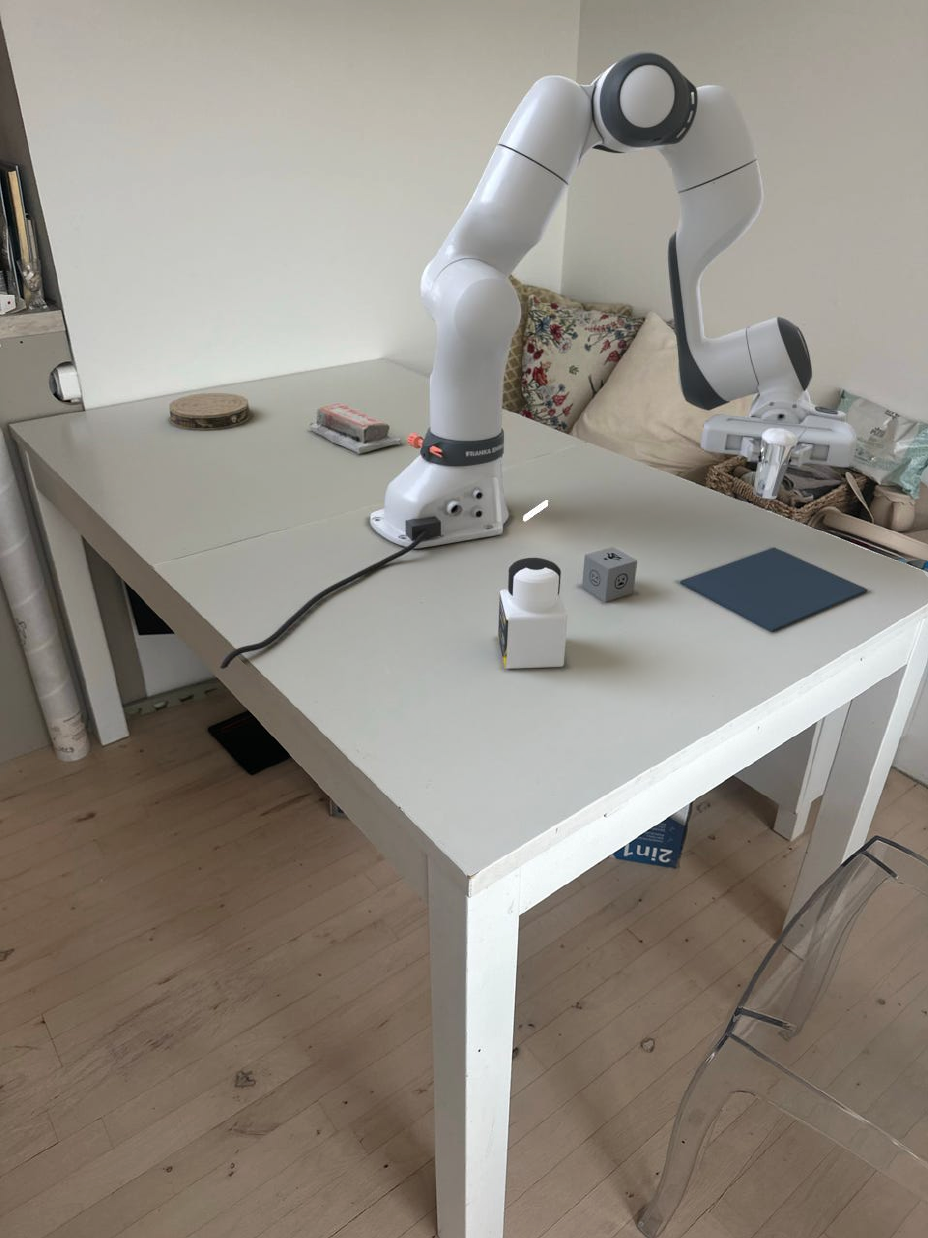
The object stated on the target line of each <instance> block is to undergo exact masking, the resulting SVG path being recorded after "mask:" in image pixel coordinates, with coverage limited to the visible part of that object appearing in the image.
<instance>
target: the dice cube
mask: <svg viewBox="0 0 928 1238" xmlns="http://www.w3.org/2000/svg"><path fill="white" fill-rule="evenodd" d="M637 567H638V559H636V558H634V557H632V556H630V555H628V554H627V553H625V552H624V551H622V550H620V549H619V548H616V547H614V546H609V547H607V548H603V549H600V550H597V551H593V552H589V553H585V554H584V560H583V569H582V571H583V572H582V579H581V580H582V582H581V588H583V589H584V590H585V591H587V592H589V593H590V594H591V595H593V596H594V597H596V598H598V599H600V600H601V601H602V602H604V603H608V602H611V601H614V600H617V599H620V598H623V597H626V596H629V595H633V594H634V592H635V591H634V590H635V585H636V583H635V582H636V575H637Z"/></svg>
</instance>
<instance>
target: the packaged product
mask: <svg viewBox="0 0 928 1238" xmlns="http://www.w3.org/2000/svg"><path fill="white" fill-rule="evenodd" d="M316 415H317V416H316V422H314V423H313V422H311V423H310V424H309V430H310V431H311V432H313V433H315V434H317V435H319V436H321V437H323V438H325V439H326V440H328V441H330V442H331V443H333V444H337V445H340V446H342V447H344V448H346V449H348V450H350V451H352V452H354V453H356V454H358V455H360V454H365V453H367V452H371V451H374V450H377V449H381V448H385V447H388V446H393V445H401V442H402V441H401V440H402V438H401V437H398V436H396V435H393V434H390V433H389V431H390V425H389V424H388V423H386V422H384V421H381V420H379V419H377V418H375V417H373V416H371V415H368V414H366V413H363V412H362V411H360V410H358V409H355V408H353V407H350V406H348V405H346V404H343V403H336V404H331V405H326V406H323V407H319V408H317V409H316Z"/></svg>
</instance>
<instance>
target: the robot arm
mask: <svg viewBox="0 0 928 1238" xmlns="http://www.w3.org/2000/svg"><path fill="white" fill-rule="evenodd" d="M649 148H651V149H655V150H656V151H658V152H659V153H660V154H661V155H662V156H663V158H664V159H665V161H666V163H667V164H668V167H669V169H671V174H672V179H673V183H674V186H675V190H676V194H677V198H678V203H679V219H678V225H677V228H676V230H675V232H674V233H672V235H671V236H670V237H669V240H668V244H667V245H668V246H667V265H668V266H667V267H668V269H667V270H668V280H669V289H670V298H671V307H672V313H673V323H674V329H675V330H674V331H675V338H676V348H677V359H678V362H677V363H678V364H677V377H678V379H677V380H678V385H679V389H680V392H681V394H682V396H683V398H684V401H686V402H687V403H689V404H690V405H691V406H694V407H696V408H699V409H701V410H704V411H708V412H709V411H711V410H714V409H716V408H719V407H722V406H724V405H726V404H729V403H730V402H731V401H735V400H738V399H742V398H745V397H749V396H751V395H754V396H753V399H752V401H751V405H750V409H749V414H748V416H747V415H745V416H744V415H736V414H728V413H727V414H726V413H725V414H724V413H719V414H714V415H712V416H710V418H708V419H706V420H704V422H703V426H702V428H703V429H702V434H701V438H700V439H701V440H700V448H701V449H702V450H704V451H705V452H708V453H717V454H724V455H725V454H726V455H732V456H733V455H735V456H743V457H745V458H746V462H750V463H758V461H759V456H760V446H761V439H762V434H763V433H764V432H765V431H766V430H768V429H771V428H782V429H785V430H787V431H790V432H792V433H793V434H794V435H795V436H796V437H797V439H798V438H799V437H800V435H801V434H802V433H803V431H804V430H805V429H806V428H807V427H808V428H807V430H806V431H805V432H804V434H803V435H802V436H801V437H800V439H799V440H798V442H797V445H796V447H795V450H794V453H793V454H792V456H791V460H790V463H789V465H788V467H792V468H800V469H801V468H802V465H803V464H810V465H812V464H813V465H820V466H827V467H828V466H829V467H837V468H838V467H839V468H849V467H851V466H852V465H853V463H854V459H855V455H856V452H857V445H858V439H857V435H856V433H855V430H854V428H853V426H852V425H851V424H849V423H848V422H847V414H846V413H845V412H843V411H841V410H836V409H833V408H828V407H823V406H819V405H817V404H814V403H812V400H811V397H810V393H809V390H808V388H809V385H810V383H811V381H812V378H813V369H812V360H811V355H810V351H809V348H808V344H807V342H806V339H805V337H804V334H803V332H802V330H801V329H800V328H799V326H797V325H796V324H794V322H791V321H790V320H788V319H786V318H784V317H781V316H777V317H774V318H769V319H767V320H763V321H761V322H758V323H755V324H752V325H749V326H747V327H745V328H742V329H738V330H736V331H733V332H730V333H727V334H725V335H721V336H719V337H715V338H708V337H706V335H705V326H704V320H703V318H704V317H703V309H702V301H701V300H702V299H701V289H700V286H701V285H700V284H701V279H702V277H703V274H704V273H705V271H706V270H707V268H708V267H709V266H710V265H711V264H712V263H713V262H714V261H715V260H716V259H717V258H718V257H720V256H721V255H722V254H723V253H724V252H725V251H726V250H728V249H729V248H730V247H732V246H733V244H735V243H736V242H737V241H739V240H740V238H742V236H744V234H746V232H747V231H748V230H749V229H750V228H751V227H752V225H753V224H754V222H755V221H756V219H757V218H758V216H759V214H760V211H761V209H762V206H763V202H764V189H763V179H762V174H761V170H760V165H759V161H758V159H757V158H758V156H757V154H756V149H755V146H754V143H753V139H752V136H751V134H750V130H749V128H748V126H747V122H746V120H745V118H744V116H743V114H742V111H741V109H740V107H739V104H738V103H737V101H736V99H735V97H734V95H733V93H732V92H731V91H730V90H729V89H727V87H725V86H722V85H714V84H713V85H712V84H707V85H702V86H698V87H696V86H695V84H693V83H692V82H691V81H690V80H689V79H688V78H687V77H686V76H685V75H684V74H683V73H682V72H681V71H680V69H678V68H677V66H676V65H675V64H674V63H673V62H672V61H671V60H669V59H668V58H667V57H665V56H664V55H662V54H660V53H657V52H652V51H638V52H633V53H630V54H627V55H626V56H624V57H622V58H621V59H619V60H618V61H616V62H614V63H612V64H611V65H610V66H608V67H607V68H606V69H605V70H604V71H602V73H601V74H599V76H597V77H596V78H595V79H594V80H593V81H592V82H590V83H589V84H585V85H584V84H579V83H577V82H576V81H574V80H573V79H571V78H569V77H565V76H562V75H546V76H544V77H541V78H540V79H538V80H537V81H535V82H534V84H533V85H532V86H531V88H530V89H529V90H528V91H527V92H526V94H525V96H524V97H523V98H522V101H521V102H520V103H519V105H518V106H517V108H516V109H515V111H514V113H513V115H512V116H511V118H510V119H509V121H508V123H507V125H506V127H505V129H504V131H503V132H502V134H501V136H500V138H499V140H498V142H497V145H496V146H495V149H494V150H493V153H492V155H491V156H490V157H491V158H490V159H489V162H488V164H487V166H486V167H485V170H484V172H483V174H482V176H481V178H480V181H479V182H478V185H477V187H476V188H475V191H474V193H473V195H472V197H471V199H470V201H469V203H468V204H467V205H466V207H465V209H464V211H463V212H462V213H461V216H460V217H459V218H458V220H457V221H456V223H455V224H454V225H453V227H452V228H451V230H450V231H449V233H448V235H447V236H446V238H445V240H444V241H443V242H442V244H441V246H440V247H439V249H438V251H437V252H436V254H435V256H434V258H433V259H432V260H431V261H429V262H428V264H427V265H426V267H425V268H424V270H423V273H422V274H421V278H420V296H421V302H422V305H423V308H424V309H425V312H426V313H427V315H428V316H429V317H430V318H431V320H432V321H434V322H435V324H436V329H437V330H436V331H437V341H436V349H435V351H436V352H435V357H434V363H433V368H432V369H433V370H432V372H431V374H430V377H429V427H428V428H427V430H426V434H425V435H424V437H423V436H421V435H419V434H417V433H416V432H411V433H409V435H408V436H407V439H406V441H407V442H406V443H407V444H408V445H409V446H411V447H413V448H414V449H420V450H419V455H418V456H417V457H416V458H415V459H414V460H413V461H411V463H410V464H408V465H407V467H405V469H404V470H402V471H401V472H400V473H399V474H398V475H397V476H395V478H394V479H393V480H392V481H390V482H389V484H388V485H387V488H386V491H385V495H384V502H383V508H381V509H378V510H376V511H373V512H371V514H370V517H369V518H370V520H369V522H370V526H371V527H372V528H373V530H374V531H375V532H376V533H377V534H379V535H380V536H382V537H383V538H385V539H386V540H388V541H389V542H391V543H394V544H396V545H398V546H401V547H404V548H403V549H401V550H399V551H397V552H395V553H393V554H391V555H389V556H387V557H385V558H383V559H381V560H379V561H378V562H376V563H373V564H371V565H369V566H368V567H366V568H363V569H361V570H359V571H358V572H356V573H354V574H352V575H350V576H348V577H346V578H344V579H341V580H339V581H337V582H336V583H334V584H332V585H330V586H328V587H327V588H325V589H323V590H322V591H320V592H319V593H317V594H315V596H313V597H311V599H310V600H308V601H307V602H306V603H305V604H304V605H303V606H302V607H300V608H299V609H298V610H297V611H296V612H295V613H294V614H293V615H291V617H289V618H288V619H287V621H285V622H284V623H283V624H282V625H281V626H280V627H279V628H278V629H277V630H275V632H274V633H273V634H271V635H270V636H269V637H267V638H265V639H264V640H262V641H260V642H257V643H253V644H249V645H244V646H241V647H238V648H236V649H234V650H232V651H231V652H230V653H228V655H226V657H225V658H224V659H223V660H222V663H221V664H220V669H222V670H223V669H227V668H228V666H229V665H230V664H231V662H232V661H233V660H234V659H235V658H236V657H237V656H240V655H242V654H245V653H249V652H254V651H258V650H262V649H263V648H265V647H268V646H269V645H271V644H272V643H274V642H275V641H276V640H278V639H279V638H280V637H281V636H282V635H283V634H284V633H285V632H286V631H287V630H288V629H289V628H290V627H291V626H292V625H293V624H294V623H295V622H296V621H297V620H299V619H300V618H301V617H302V616H303V615H304V614H305V613H306V612H308V611H309V609H310V608H312V606H314V605H315V604H316V603H317V602H319V601H320V600H322V599H323V598H324V597H326V596H327V595H330V594H331V593H333V592H334V591H336V590H338V589H340V588H342V587H344V586H346V585H348V584H350V583H352V582H354V581H356V580H357V579H359V578H361V577H363V576H365V575H367V574H369V573H371V572H373V571H375V570H377V569H379V568H381V567H383V566H385V565H387V564H388V563H390V562H392V561H394V560H396V559H398V558H400V557H403V556H405V555H406V554H408V553H409V552H411V551H412V550H413V549H415V550H416V549H423V548H429V547H435V546H440V545H446V544H452V543H458V542H466V541H470V540H476V539H481V538H489V537H494V536H498V535H499V536H500V535H502V534H503V533H504V524H505V523H506V522H507V521H508V520H509V517H510V513H509V509H508V506H507V501H506V497H505V491H504V485H503V472H502V471H503V469H502V459H503V455H504V452H505V430H504V429H503V428H502V427H503V425H502V423H503V401H504V400H503V399H504V382H505V375H506V369H507V365H508V361H509V356H510V352H511V347H512V343H513V337H514V336H515V334H516V333H517V331H518V328H519V326H520V323H521V317H522V306H521V301H520V298H519V296H518V293H517V291H516V288H515V287H514V285H513V284H512V282H511V279H509V277H510V276H511V275H512V274H513V272H514V270H515V269H516V268H517V267H518V265H519V264H520V262H521V261H522V260H523V259H524V257H526V255H527V254H528V253H529V252H530V251H531V250H532V249H533V248H534V247H535V246H536V245H537V244H538V243H539V242H540V241H541V240H542V238H543V236H544V235H545V232H546V231H547V229H548V227H549V225H550V223H551V221H552V219H553V217H554V215H555V213H556V212H557V209H558V207H559V205H560V203H561V202H562V199H563V197H564V195H565V193H566V191H567V189H568V187H569V185H570V183H571V181H572V179H573V177H574V175H575V173H576V170H577V168H578V167H579V165H580V163H581V162H582V160H583V159H584V157H585V156H586V155H587V153H588V152H589V151H590V150H591V149H594V150H599V151H603V152H607V153H610V154H611V153H613V154H625V153H626V154H627V153H629V154H630V153H637V152H641V151H643V150H646V149H649ZM548 502H549V500H545V501H542V503H540V504H539V505H537V506H535V508H533V509H531V510H530V511H529V512H527V513H526V514H524V515H523V521H524V522H526V521H528V520H529V519H530V518H532V517H533V516H534V515H536V514H537V513H540V512H541V511H543V509H545V508H546V507H548V505H549V504H548Z"/></svg>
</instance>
